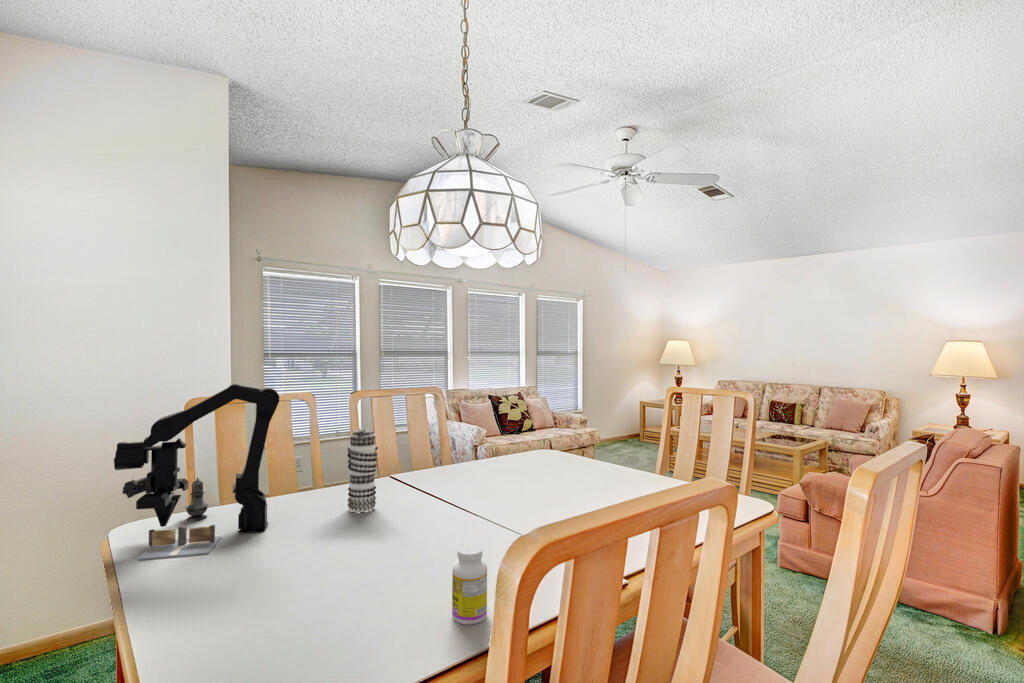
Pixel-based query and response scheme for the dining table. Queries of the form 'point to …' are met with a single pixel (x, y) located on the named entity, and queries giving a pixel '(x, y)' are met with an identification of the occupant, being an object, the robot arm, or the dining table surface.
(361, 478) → the decorative candle
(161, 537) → the fence panel
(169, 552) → the card
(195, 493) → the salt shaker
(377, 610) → the dining table surface
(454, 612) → the supplement bottle
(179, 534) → the fixed fence
